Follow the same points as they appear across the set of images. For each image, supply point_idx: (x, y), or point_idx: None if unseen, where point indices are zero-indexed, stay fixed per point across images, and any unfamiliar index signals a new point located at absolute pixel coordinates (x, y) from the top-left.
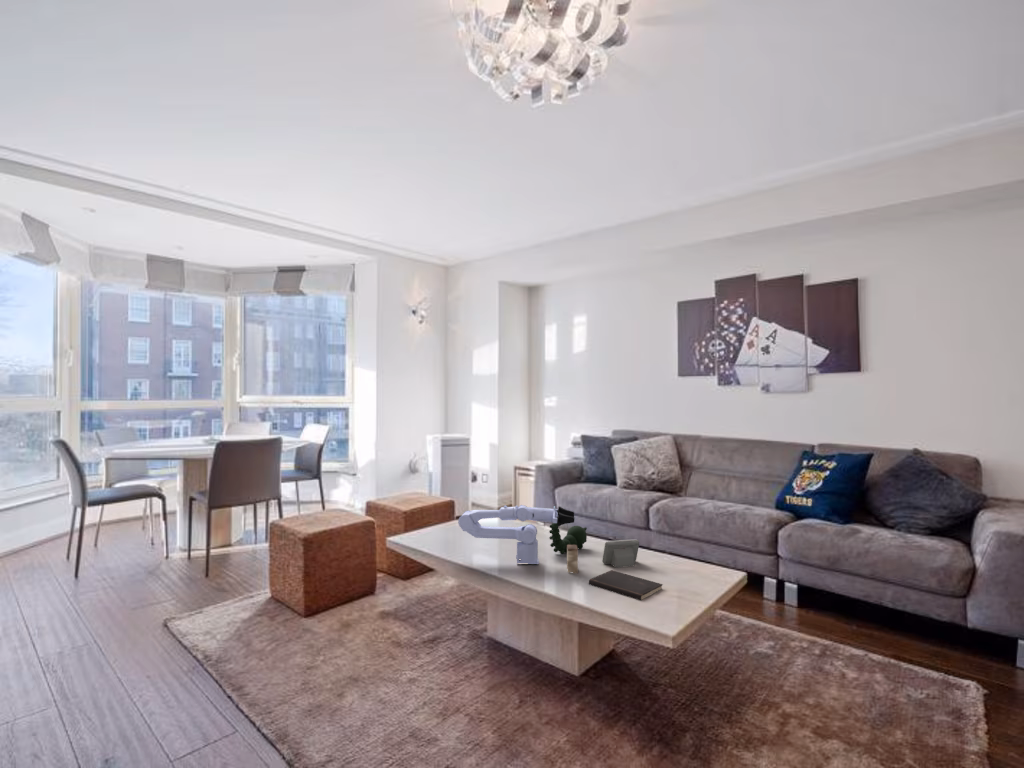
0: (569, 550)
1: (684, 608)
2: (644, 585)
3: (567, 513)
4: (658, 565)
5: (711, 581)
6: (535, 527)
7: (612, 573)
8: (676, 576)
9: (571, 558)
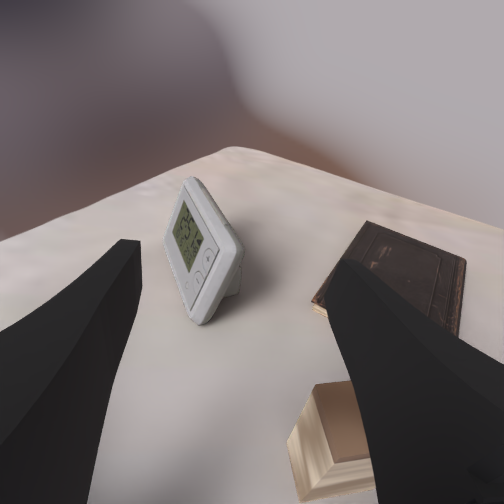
0: None
1: (442, 219)
2: (397, 246)
3: (110, 327)
4: None
5: (286, 172)
6: None
7: None
8: (275, 200)
9: None
